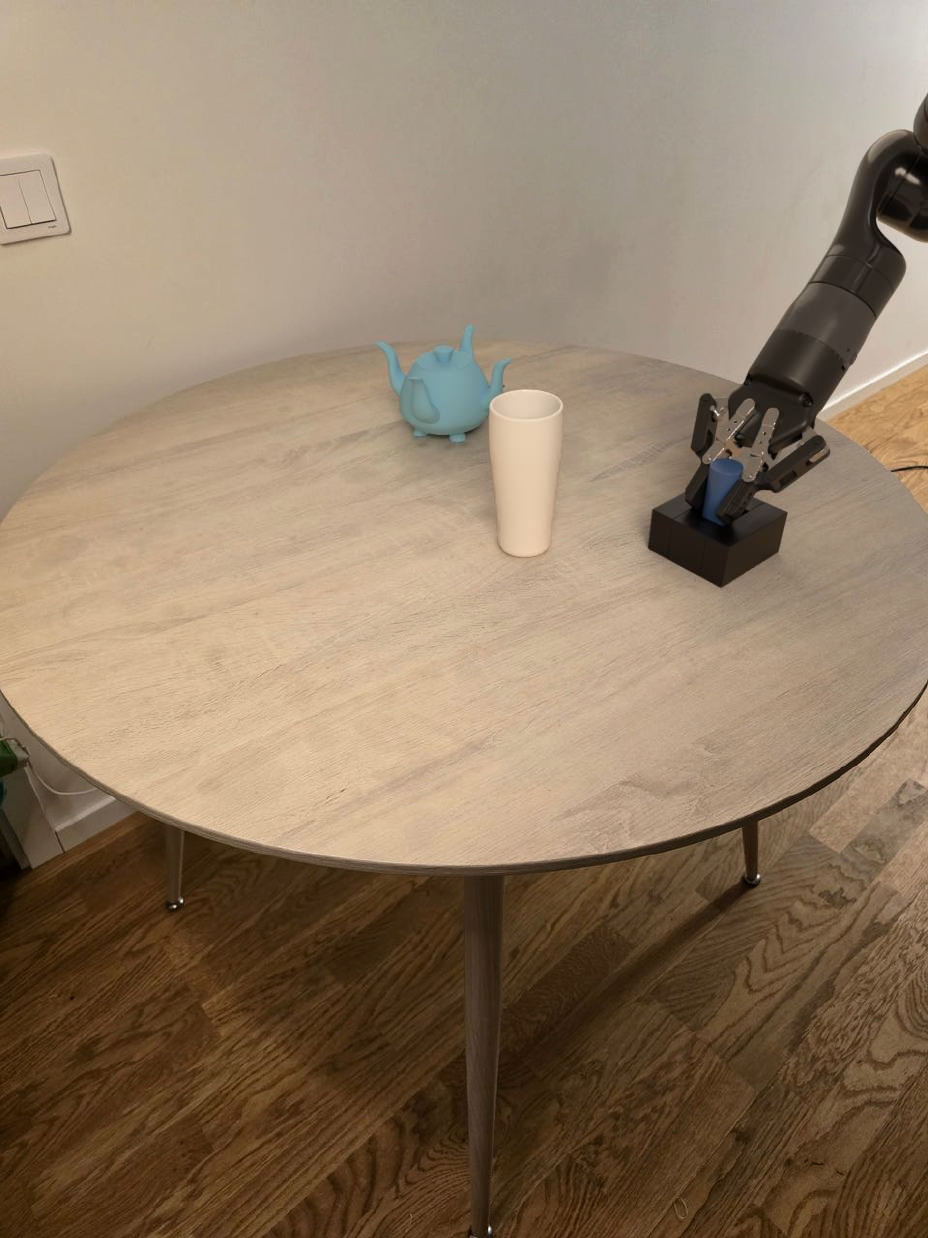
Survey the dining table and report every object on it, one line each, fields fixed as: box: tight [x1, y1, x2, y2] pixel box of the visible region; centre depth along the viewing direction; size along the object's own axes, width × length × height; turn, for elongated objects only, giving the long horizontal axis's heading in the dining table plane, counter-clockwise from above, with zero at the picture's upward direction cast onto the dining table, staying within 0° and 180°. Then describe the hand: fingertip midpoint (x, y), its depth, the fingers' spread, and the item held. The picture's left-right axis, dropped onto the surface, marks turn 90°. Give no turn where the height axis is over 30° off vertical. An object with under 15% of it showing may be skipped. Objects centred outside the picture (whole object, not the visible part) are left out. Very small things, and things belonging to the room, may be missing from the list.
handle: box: [702, 458, 745, 527], centre depth 81 cm, size 3×3×8 cm
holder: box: [647, 491, 789, 589], centre depth 83 cm, size 9×9×4 cm
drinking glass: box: [488, 389, 565, 558], centre depth 81 cm, size 7×7×15 cm
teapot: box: [375, 324, 514, 443], centre depth 104 cm, size 13×13×10 cm
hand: (706, 511), depth 80 cm, fingers closed on handle, 3 cm apart
